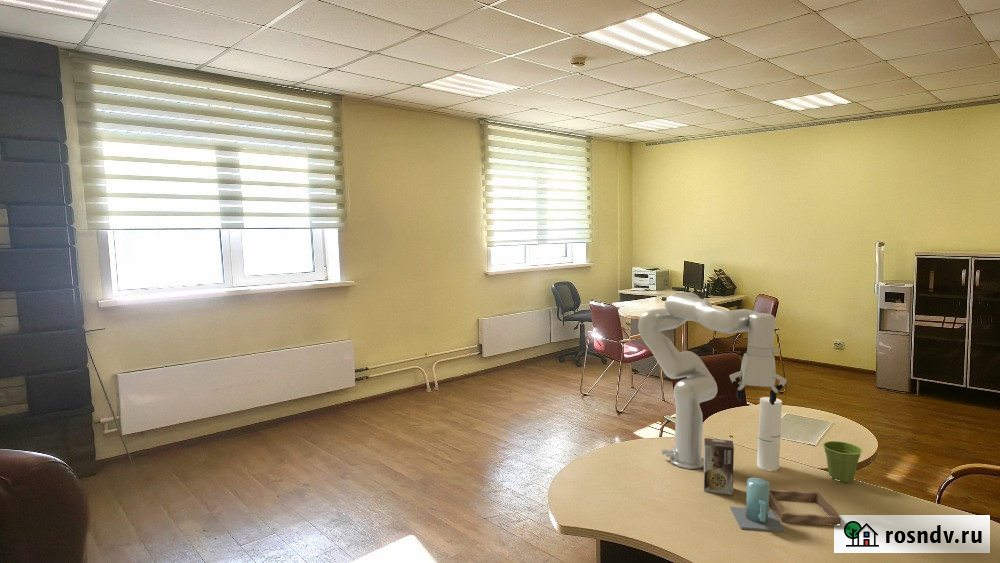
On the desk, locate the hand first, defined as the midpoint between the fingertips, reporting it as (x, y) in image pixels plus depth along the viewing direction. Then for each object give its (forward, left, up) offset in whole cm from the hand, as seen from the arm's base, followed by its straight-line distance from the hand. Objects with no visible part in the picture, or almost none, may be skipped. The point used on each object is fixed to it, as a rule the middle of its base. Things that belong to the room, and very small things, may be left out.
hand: (755, 402), depth 184 cm
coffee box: (-11, -2, -30) cm, 32 cm away
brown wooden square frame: (+11, -13, -30) cm, 34 cm away
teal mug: (-5, -23, -29) cm, 37 cm away
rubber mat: (-4, -21, -30) cm, 37 cm away
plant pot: (+33, +13, -30) cm, 46 cm away
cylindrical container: (+11, +19, -30) cm, 37 cm away
